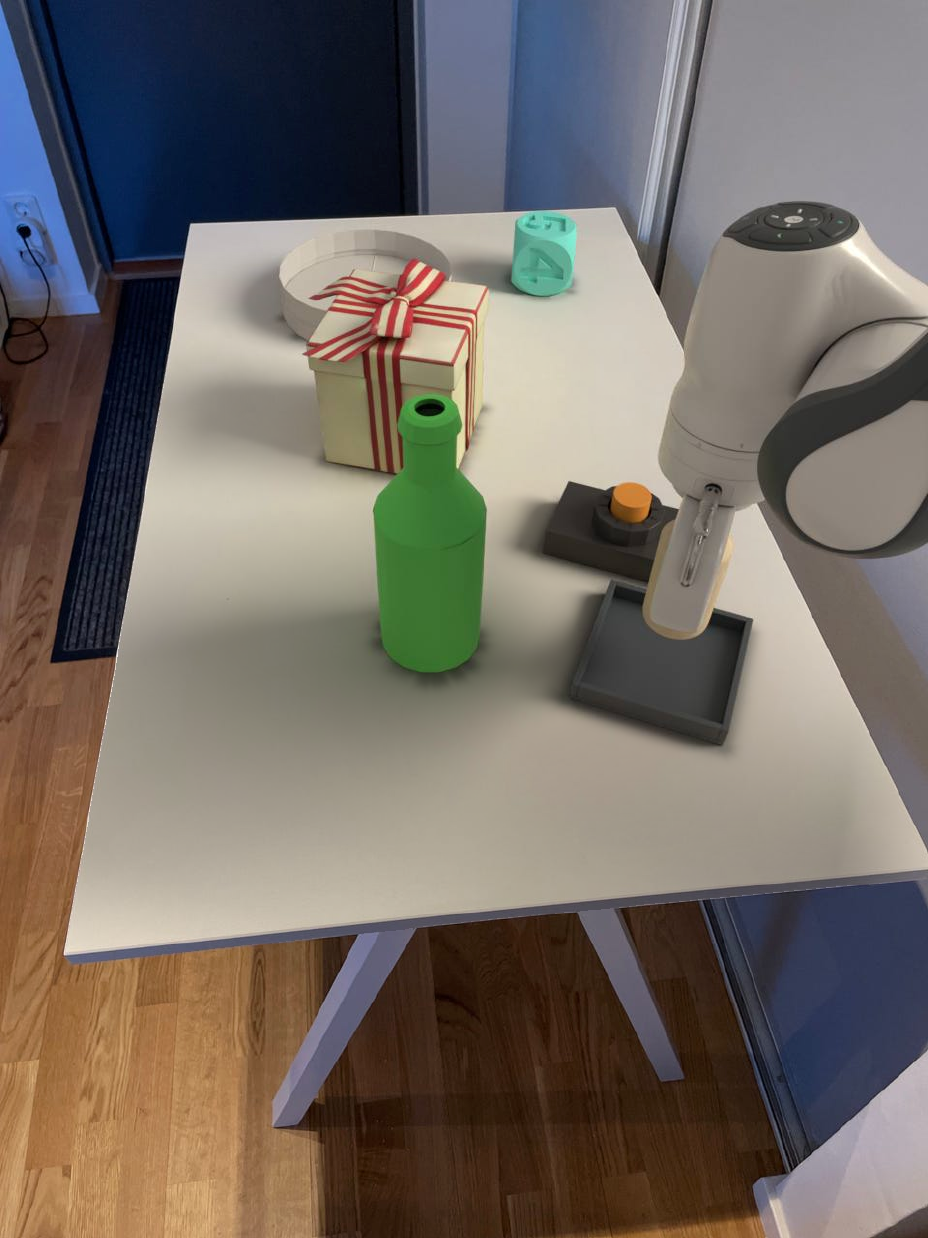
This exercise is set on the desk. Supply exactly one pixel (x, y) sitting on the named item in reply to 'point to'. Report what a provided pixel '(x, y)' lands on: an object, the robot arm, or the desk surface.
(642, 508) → the orange button cap
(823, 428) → the robot arm
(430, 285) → the gift box
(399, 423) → the bottle
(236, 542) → the desk surface
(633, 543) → the button base
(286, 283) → the dish
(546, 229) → the decorative dice
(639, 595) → the soap tray
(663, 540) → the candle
